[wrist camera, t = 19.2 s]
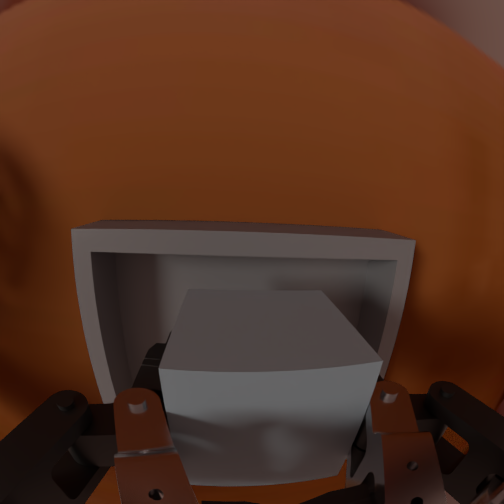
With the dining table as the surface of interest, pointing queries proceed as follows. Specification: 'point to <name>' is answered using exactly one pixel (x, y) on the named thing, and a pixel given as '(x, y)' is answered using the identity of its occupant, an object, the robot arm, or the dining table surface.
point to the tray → (225, 280)
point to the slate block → (264, 386)
